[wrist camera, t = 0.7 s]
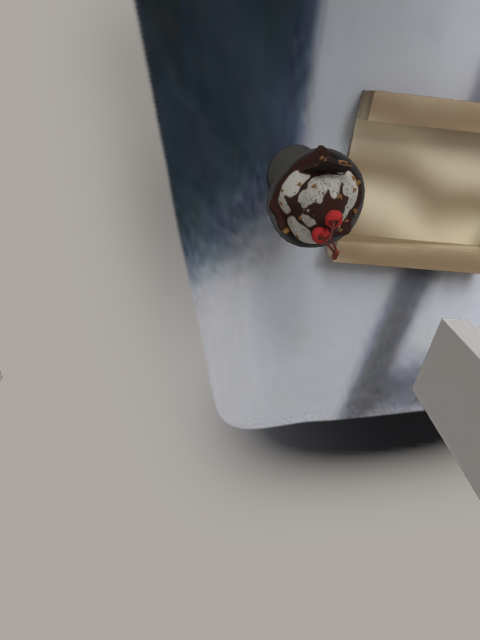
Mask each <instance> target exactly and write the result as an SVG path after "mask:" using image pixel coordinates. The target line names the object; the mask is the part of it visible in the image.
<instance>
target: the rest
mask: <svg viewBox="0 0 480 640" xmlns="http://www.w3.org/2000/svg"><path fill="white" fill-rule="evenodd" d="M348 158H350V159H351V160H352V161H353V163H354V164H355V165H356V166H357V167H358V169H359V170H360V172H361V174H362V177H363V181H364V186H365V197H364V203H363V207H362V211H361V214H360V216H359V218H358V220H357V222H356V223H355V225H354V226H353V228H352V229H351V232H350V233H349V234H348V235H345V236H344V237H342V238H341V239H340V240H338V241H336V242H334V244H335V246H336V248H337V249H338V250H339V255H338V257H337V259H336V260H333V259H332V254H333V252H332V251H331V249H330V248H329V247H328V246H327V247H326V252H327V253H328V255H329V256H330V258H331V260H332V261H333V262H340V263H352V264H365V265H377V266H390V267H402V268H414V269H427V270H439V271H452V272H464V273H477V274H480V103H478V102H469V101H461V100H452V99H443V98H435V97H426V96H418V95H409V94H400V93H392V92H383V91H363V92H362V96H361V101H360V105H359V109H358V114H357V118H356V122H355V127H354V131H353V135H352V140H351V144H350V148H349V153H348ZM329 245H330V246H331V247H332V249H333V250H334V251H335V249H334V247H333V245H332V244H329Z"/></svg>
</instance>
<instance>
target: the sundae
mask: <svg viewBox="0 0 480 640" xmlns="http://www.w3.org/2000/svg"><path fill="white" fill-rule="evenodd" d="M268 183H269V186H270V190H269V194H268V198H267V207H268V214H269V217H270V219H271V222H272V224H273V226H274V228H275V230H276V231H277V232H278V233H279V234H280V236H281V237H283V238H284V239H285V240H286V241H287V242H289V243H291V244H293V245H296V246H299V247H322V246H326V245H327V246H328V247H329V248H330V249H331V251H332V252H333V254H332V259H333V260H336V259H337V257H338V255H339V250H338V249H337V248H336V246H335V244H334V242H336V241H338V240H340V239H341V238H342V237H344V236H345V235H348V234H349V233H350V232H351V229H352V228H353V226H354V225H355V223H356V222H357V220H358V218H359V216H360V214H361V211H362V207H363V203H364V197H365V186H364V181H363V177H362V174H361V172H360V170H359V169H358V167H357V166H356V165H355V164H354V163H353V161H352V160H351V159H350V158H348V157H347V156H345V155H343V154H342V153H340V152H338V151H336V150H333V149H328V148H325V147H324V146H321V145H320V146H318V147H317V148H315V149H310V148H308V147H306V146H303V145H290V146H288V147H285V148H283V149H281V150H280V151H279V152H278V153H277V154H276V155H275V156H274V157H273V159H272V161H271V163H270V165H269V168H268ZM329 244H332V245H333V247H334V249H335V251H334V250H333V249H332V247H331V246H330V245H329Z"/></svg>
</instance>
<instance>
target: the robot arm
mask: <svg viewBox="0 0 480 640" xmlns="http://www.w3.org/2000/svg"><path fill="white" fill-rule="evenodd" d="M2 378H3V377H2V374H1V372H0V380H1V379H2ZM413 391H414V392H415V394H416V396H417V397H418V399H419V401H420V402H421V404H422V406H423V407H424V409H425V411H426V412H427V413H428V415H429V417H430V419H431V420H432V422H433V424H434V425H435V427H436V429H437V430H438V432H439V433H440V435H441V437H442V438H443V440H444V442H445V443H446V445H447V447H448V448H449V450H450V452H451V453H452V455H453V456H454V458H455V460H456V461H457V463H458V465H459V466H460V468H461V470H462V471H463V473H464V475H465V476H466V478H467V479H468V481H469V483H470V484H471V486H472V488H473V489H474V491H475V493H476V494H477V496H478V497H479V499H480V331H479V330H478V329H477V328H476V327H475V326H474V325H473V324H472V323H471V322H470V321H469V320H468V319H448V318H442V319H441V322H440V324H439V326H438V329H437V331H436V334H435V336H434V338H433V341H432V343H431V346H430V348H429V350H428V353H427V355H426V357H425V360H424V362H423V365H422V367H421V369H420V372H419V374H418V377H417V379H416V381H415V384H414V386H413Z"/></svg>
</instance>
